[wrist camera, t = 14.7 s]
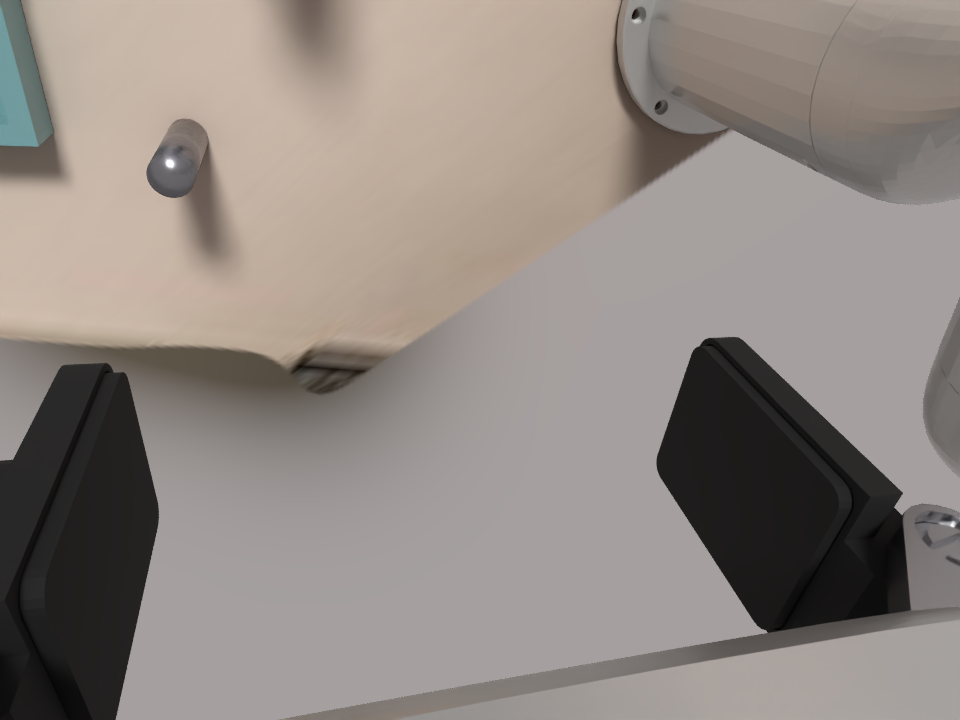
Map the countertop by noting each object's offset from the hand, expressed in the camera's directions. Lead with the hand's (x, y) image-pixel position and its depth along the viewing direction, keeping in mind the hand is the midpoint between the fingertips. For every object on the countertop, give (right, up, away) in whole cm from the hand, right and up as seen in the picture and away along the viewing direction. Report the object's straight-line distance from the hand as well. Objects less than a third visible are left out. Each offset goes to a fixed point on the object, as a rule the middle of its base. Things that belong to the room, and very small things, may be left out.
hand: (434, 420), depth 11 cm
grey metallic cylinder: (-15, +13, +24) cm, 32 cm away
